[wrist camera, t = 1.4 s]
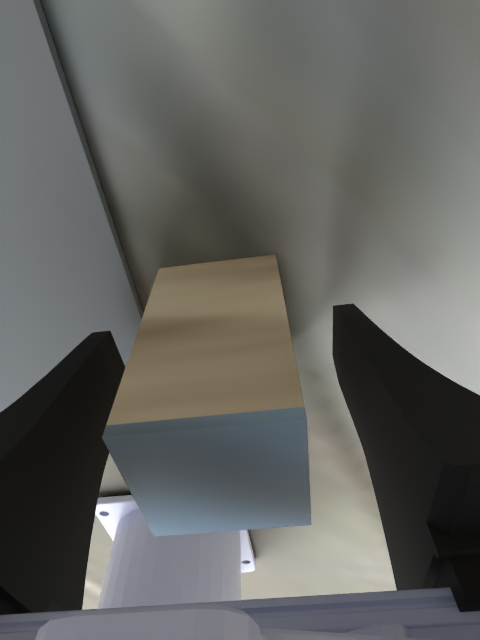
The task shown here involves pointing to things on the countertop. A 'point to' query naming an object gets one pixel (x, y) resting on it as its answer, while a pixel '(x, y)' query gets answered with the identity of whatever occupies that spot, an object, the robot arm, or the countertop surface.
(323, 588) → the countertop surface
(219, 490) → the beech block
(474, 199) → the countertop surface
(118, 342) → the rubber mat
